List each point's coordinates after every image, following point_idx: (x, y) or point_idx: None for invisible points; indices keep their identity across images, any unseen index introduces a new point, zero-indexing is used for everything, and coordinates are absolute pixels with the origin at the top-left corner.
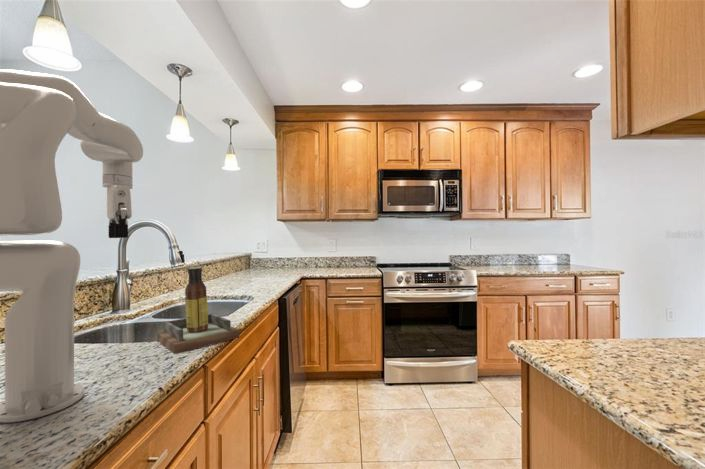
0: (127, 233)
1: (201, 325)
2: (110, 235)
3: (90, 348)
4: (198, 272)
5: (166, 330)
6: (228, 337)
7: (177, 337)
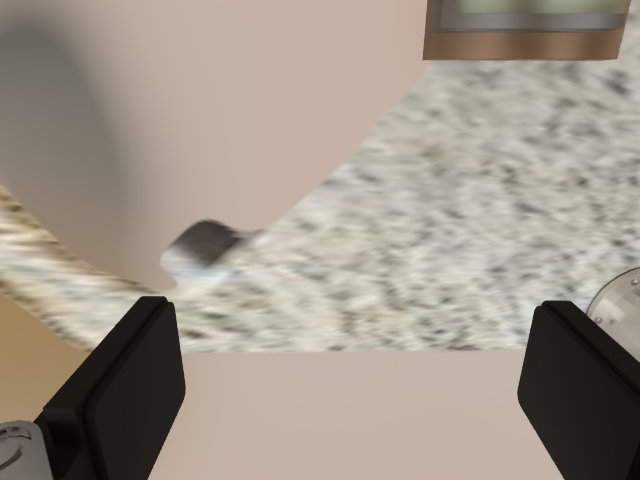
0: (592, 327)
1: None
2: (178, 403)
3: (340, 218)
4: None
5: (459, 31)
6: None
7: (584, 31)
